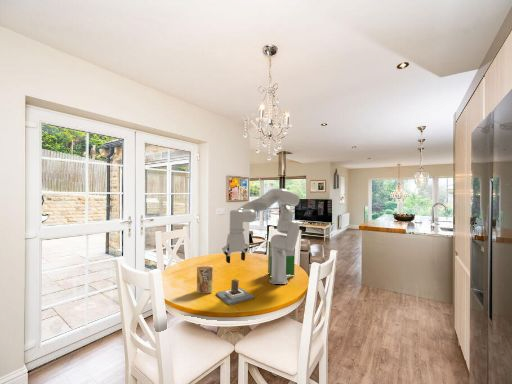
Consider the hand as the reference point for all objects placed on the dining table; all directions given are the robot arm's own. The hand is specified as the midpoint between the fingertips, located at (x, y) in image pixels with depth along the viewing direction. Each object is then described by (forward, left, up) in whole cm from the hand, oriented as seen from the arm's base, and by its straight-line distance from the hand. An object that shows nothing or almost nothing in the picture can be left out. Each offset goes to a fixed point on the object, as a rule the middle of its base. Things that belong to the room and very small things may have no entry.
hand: (235, 261), depth 137 cm
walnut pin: (0, 0, -19) cm, 19 cm away
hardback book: (-46, -13, -20) cm, 52 cm away
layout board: (0, 0, -20) cm, 20 cm away
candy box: (+12, -15, -20) cm, 28 cm away
